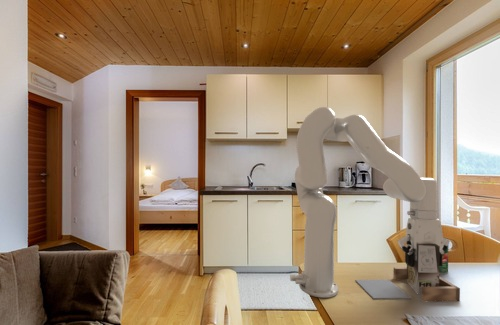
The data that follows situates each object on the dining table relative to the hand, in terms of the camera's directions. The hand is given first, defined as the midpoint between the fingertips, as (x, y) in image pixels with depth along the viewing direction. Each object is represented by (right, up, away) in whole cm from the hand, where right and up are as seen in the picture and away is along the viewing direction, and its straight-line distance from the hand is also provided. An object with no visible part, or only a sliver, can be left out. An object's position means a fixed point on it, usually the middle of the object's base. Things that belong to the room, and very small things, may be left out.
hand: (423, 265), depth 84 cm
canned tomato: (+16, -8, +16) cm, 24 cm away
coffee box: (-1, -8, 0) cm, 8 cm away
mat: (-15, -8, -1) cm, 17 cm away
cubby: (-1, -8, 0) cm, 8 cm away
